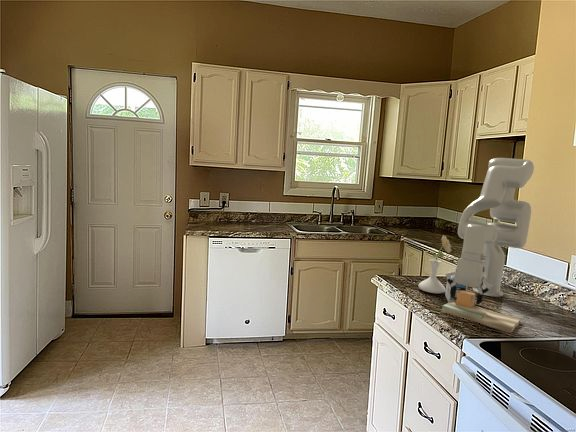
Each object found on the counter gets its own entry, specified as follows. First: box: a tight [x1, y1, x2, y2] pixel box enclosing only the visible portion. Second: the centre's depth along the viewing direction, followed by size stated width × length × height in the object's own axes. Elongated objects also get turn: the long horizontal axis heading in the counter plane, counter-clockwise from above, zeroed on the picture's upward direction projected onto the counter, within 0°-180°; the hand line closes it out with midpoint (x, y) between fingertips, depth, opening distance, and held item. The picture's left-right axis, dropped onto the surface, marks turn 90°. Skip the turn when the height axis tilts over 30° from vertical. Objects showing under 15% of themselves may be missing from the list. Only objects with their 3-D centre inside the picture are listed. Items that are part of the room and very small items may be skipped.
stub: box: [456, 290, 477, 308], centre depth 169 cm, size 6×5×5 cm
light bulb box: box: [444, 270, 469, 303], centre depth 180 cm, size 11×7×11 cm, turn 168°
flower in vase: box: [418, 234, 452, 294], centre depth 189 cm, size 13×11×25 cm
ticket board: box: [441, 301, 522, 334], centre depth 162 cm, size 14×24×2 cm, turn 50°
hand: (465, 300), depth 168 cm, fingers open, 9 cm apart
